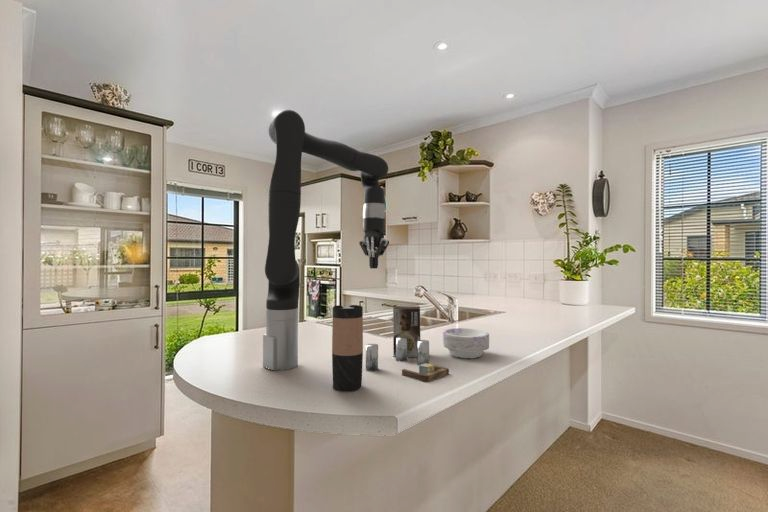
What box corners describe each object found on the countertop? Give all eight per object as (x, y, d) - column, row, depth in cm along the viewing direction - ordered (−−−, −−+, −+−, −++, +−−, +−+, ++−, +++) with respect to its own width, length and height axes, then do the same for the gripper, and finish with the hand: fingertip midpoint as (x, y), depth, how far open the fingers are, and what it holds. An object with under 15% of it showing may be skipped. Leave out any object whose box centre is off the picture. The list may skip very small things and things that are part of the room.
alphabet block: (418, 376, 103) (418, 364, 103) (425, 373, 106) (425, 362, 106) (428, 378, 101) (428, 366, 101) (434, 375, 104) (434, 364, 104)
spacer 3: (424, 366, 112) (424, 342, 112) (414, 364, 115) (414, 341, 115) (431, 364, 115) (431, 341, 115) (422, 361, 117) (422, 339, 118)
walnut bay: (426, 382, 98) (426, 376, 98) (402, 375, 104) (402, 369, 104) (448, 374, 105) (448, 368, 105) (424, 368, 111) (424, 362, 111)
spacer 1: (371, 371, 107) (371, 347, 107) (363, 369, 109) (363, 345, 109) (380, 369, 109) (380, 345, 109) (372, 366, 112) (372, 343, 112)
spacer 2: (402, 361, 117) (402, 339, 117) (393, 359, 120) (393, 337, 120) (409, 359, 120) (409, 337, 120) (401, 357, 122) (401, 336, 122)
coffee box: (420, 353, 129) (420, 306, 129) (420, 357, 122) (420, 308, 123) (394, 352, 130) (394, 305, 130) (392, 357, 123) (392, 307, 124)
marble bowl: (486, 363, 116) (486, 337, 117) (438, 358, 122) (438, 334, 122) (491, 352, 131) (491, 329, 131) (447, 348, 136) (447, 326, 136)
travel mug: (350, 394, 88) (350, 309, 89) (325, 388, 92) (325, 307, 93) (368, 385, 95) (369, 306, 95) (344, 380, 99) (345, 304, 99)
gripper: (352, 218, 130) (352, 268, 130) (379, 215, 121) (379, 268, 121) (368, 220, 136) (368, 268, 135) (395, 217, 126) (395, 268, 126)
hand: (373, 268), depth 128 cm, fingers closed
